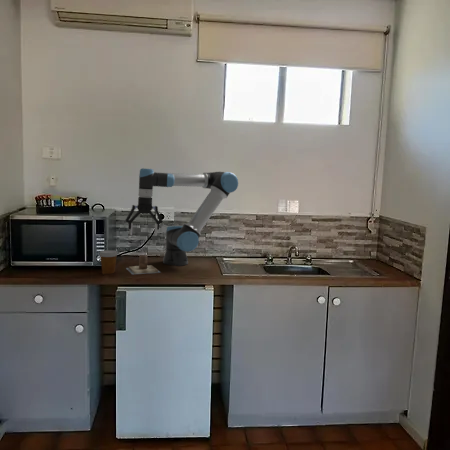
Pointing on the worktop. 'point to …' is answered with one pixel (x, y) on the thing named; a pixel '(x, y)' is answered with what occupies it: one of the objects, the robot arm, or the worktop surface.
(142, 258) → the lid
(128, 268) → the mat
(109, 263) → the disposable coffee cup
